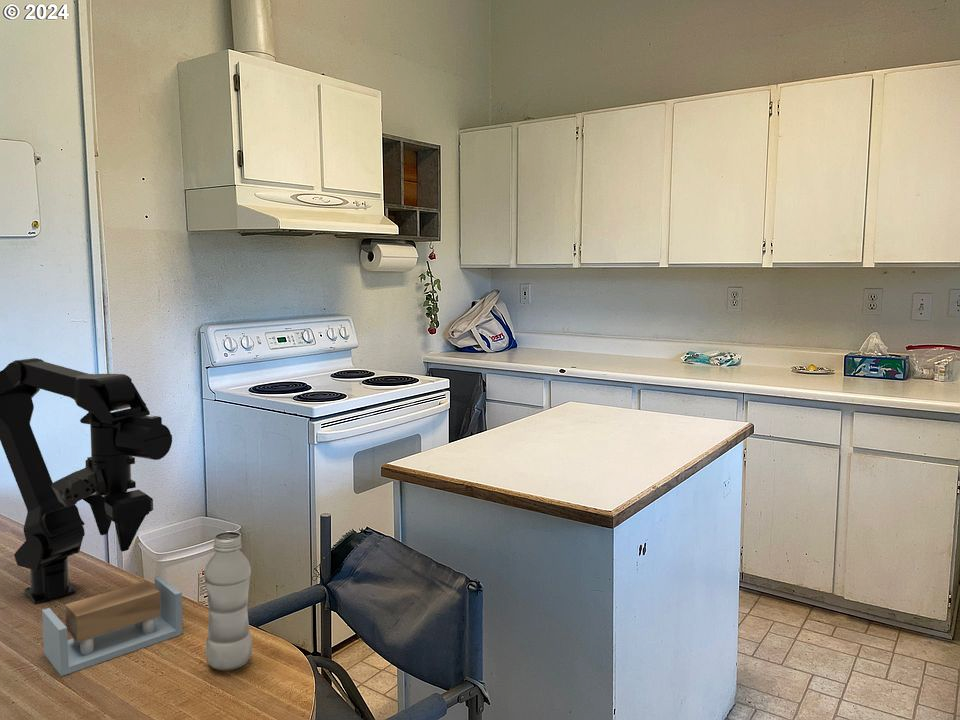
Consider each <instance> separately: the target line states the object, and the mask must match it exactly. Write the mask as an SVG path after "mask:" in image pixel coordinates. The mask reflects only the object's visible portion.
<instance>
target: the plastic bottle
mask: <svg viewBox="0 0 960 720" xmlns="http://www.w3.org/2000/svg"><path fill="white" fill-rule="evenodd" d="M213 537H214V538H213V540H214V541H213V542H214V543H213V547H212V548H213V551H215V552H214V553H213V554H212V556H211V557H210V558H209V560H208V561H207V563H206V564H205V568H204V571H203V577H204V583H205V589H206V594H207V603H208V629H207V637H206V642H205V648H204V649H205V650H204V653H205V657H206V661H207V663H208V664H209V665H210V666H211V668H213V670H217V671H227V672H228V671H233V670H237V669H239V668H241V667H243V666H245V665H246V664H247V663H248V662H249V660H250V659H251V656H252V651H253V639H252V634H251V631H250V625H249V614H248V601H249V600H248V599H249V590H250V583H251V572H252V567H251V564H250V561H249V560H248V559H247V557H246V555H244V553H243V552H242V551H241V548H242V547H243V546H242V545H243V544H242V534H241V533H240V532H237V531H234V530H233V531H231V530H230V531H221V532H219V533H216V534H215V535H214V536H213Z"/></svg>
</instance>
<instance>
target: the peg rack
mask: <svg viewBox="0 0 960 720" xmlns="http://www.w3.org/2000/svg"><path fill="white" fill-rule="evenodd" d="M154 587H155V588H156V589H157V590H159V591H160V613H161V616H158V617H155V618H152V619H149V620H145V621H142V622H139V623H136V624H133V625H130V626H127V627H124V628H121V629H118V630H114V631H111V632H108V633H105V634H102V635H99V636H96V637H93V638H90V639H86V640H83V641H80V642H77V641H76V640H75V639H74V638H73V637H72V638H70V639H68V631H67V627H66V624H65V623H63V622H62V619H61V620H60V618H59V617H58V616H57V614H55V612H54V611H53V610H52V609H51V608H50V607H48V608H47V607H46V608H45V609H42V610H41V617H42V618H41V620H42V643H43V655H44V656H45V657H46V659H47V660H48V662H49V663H51V665H52V666H53V668H54V669H55V671H56V672H57V673H58V675H59V676H61V677H63V676H66V675H69V674H72V673H75V672H77V671H79V670H80V671H81V670H83V669H84V670H85V669H86V668H89V667H92V666H94V665H95V666H96V665H97V664H100V663H104V662H106V661H109V660H112V659H115V658H119V657H120V656H123V655H126V654H129V653H131V652H135V651H138V650H141V649H143V648H146V647H149V646H152V645H155V644H158V643H160V642H164V641H167V640H169V639H172V638H175V637H178V636H181V635H183V634H184V633H183V601H182V600H183V599H182V598H183V594H182V593H183V592H182V591H181V590H179V589H178V588H177V587H175V586H174V585H173V584H171V583H170V582H169V581H168V580H166V579H165V578H164V577H162V576H160V575H159V576H157V577H154Z"/></svg>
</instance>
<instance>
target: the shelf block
mask: <svg viewBox="0 0 960 720" xmlns="http://www.w3.org/2000/svg"><path fill="white" fill-rule="evenodd" d="M64 605H65V608H64V609H65V610H64V611H65V626H66V627H67V633H69V635H70V636H71V637H72V639H73V638H74V639H75V640H76V641H77V642H80V641H83V640H86V639H90V638H93V637H96V636H99V635H102V634H105V633H108V632H111V631H114V630H118V629H121V628H124V627H127V626H130V625H133V624H136V623H139V622H142V621H145V620H149V619H152V618H155V617H158V616H161V613H160V591H159V590H157V589H156V588H155V585H153V584H151V583H150V582H149V581H148V580H146V581H142V582H140V583H136V584H132V585H130V586H126V587H122V588H118V589H115V590H111V591H108V592H104V593H101V594H98V595H94V596H90V597H87V598H83V599H80V600H77V601H73V602H69V603H65V604H64Z"/></svg>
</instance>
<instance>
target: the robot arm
mask: <svg viewBox="0 0 960 720" xmlns="http://www.w3.org/2000/svg"><path fill="white" fill-rule="evenodd" d="M132 381H133V380H132V378H131V377H130V376H129V375H126V374H125V373H87V372H83V371H80V370H77V369H72V368H69V367H65V366H62V365H59V364H55V363H50V362H47V361H44V360H43V359H41V358H38V357H31V358H25V359H24V358H23V359H17V360H13V361H12V362H10V363H8V364H7V365H6V366H5V367H4V369H2V370H0V443H1V446H2V449H3V451H4V454H5V457H6V459H7V462H8V464H9V467H10V469H11V472H12V474H13V476H14V480H15V482H16V484H17V487H18V490H19V492H20V495H21V497H22V500H23V502H24V506H25V508H26V511H27V514H26V518H25V520H24V525H23V534H24V537H25V538H24V539H25V541H24V542H23V543H22V545H20V547H19V548H18V549H17V550H16V551H15V553H14V554H13V555H14V559H15V562H16V565H17V567H20V568H25V569H29V574H30V586H29V587H25V588H24V593H25V594H26V595H27V596H28V597H29V599H30V600H31V601H32V602H33V603H34V604H39V603H43V602H46V601H49V600H53V599H58V598H62V597H65V596H68V595H72V594H75V593H76V592H77V589H76V588H75V587H74V586H73V585H72V584H71V582H69V560H68V559H69V557H71V556H73V555H75V554H78V553H80V550H81V547H82V543H83V540H84V537H85V532H86V531H85V527H84V526H85V522H84V521H83V519H82V517H81V516H80V511H79V508H78V506H77V505H76V504H77V503H78V502H79V501H82V500H83V501H84V502H86V503H87V504H88V505H89V507H90V509H91V512H92V515H93V518H94V521H95V524H96V526H97V530H98V532H99V535H100V536H105V535H108V534H109V531H110V528H111V526H112V525H111V524H112V522H113V523H114V527H115V532H116V536H117V541H118V546H119V550H120V551H121V552H126V551H128V550H129V549H130V547H131V545H132V543H133V541H134V539H135V536H136V535H137V533H138V531H139V529H140V527H141V524H143V521H144V520H145V518H146V517H147V516H148V515H150V513H151V512H152V511H153V510H154V498H153V497H151V496H150V495H148V494H147V493H146V492H144V491H142V490H140V489H135V488H136V487H137V486H136V485H137V483H136V481H135V480H134V479H132V469H131V468H132V465H135V464H136V458H140V459H141V458H142V459H147V460H153V461H158V460H162V459H163V458H164V457H165V456H166V455H167V454H168V453H169V451H170V450H171V448H172V443H173V434H171V431H170V429H169V427H167V425H165V424H163V421H162V419H163V418H162V417H161V416H159V415H157V416H156V415H153V416H150V414H151V411H150V410H149V408H148V406H147V403H145V401H144V400H143V397H142V396H141V395H140V392H139V391H138V390H137V388H136V386H135V384H134V383H133V382H132ZM40 390H44V391H45V392H46V391H47V392H50V393H53V394H57V395H61V396H64V397H67V398H70V399H72V400H74V402H75V403H76V404H75V405H76V406H77V407H79V408H80V409H82V410H84V411H85V412H87V413H86V414H85V415H84V416H83V417H82V418H80V419H79V422H80V423H81V424H85V425H90V426H89V427H90V428H89V429H90V430H89V431H90V451H91V452H90V455H91V456H87V459H85V467H84V468H81V469H79V470H75V471H74V472H72V473H69V474H67V475H66V476H63V477H62V478H60V479H58V480H56V481H53V480H52V478H51V474H50V472H49V470H48V467H47V464H46V461H45V459H44V457H43V454H42V451H41V449H40V447H39V445H38V444H39V443H38V441H37V439H36V437H35V434H34V431H33V427H32V426H31V421H32V416H33V414H34V413H33V412H34V409H35V407H34V406H35V405H34V403H33V402H34V401H33V398H34V396H36V395H37V393H39V391H40ZM129 489H130V490H129ZM131 489H134V490H131ZM128 490H129V491H128Z"/></svg>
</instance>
